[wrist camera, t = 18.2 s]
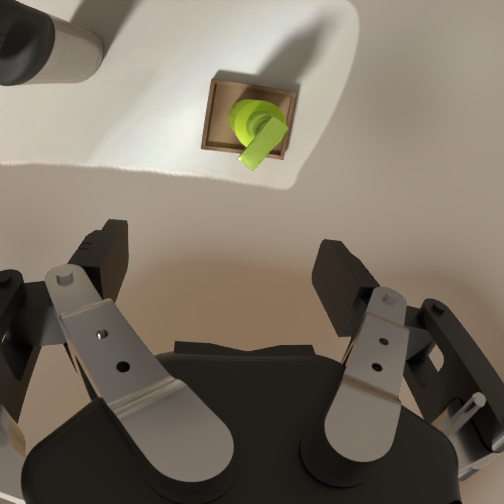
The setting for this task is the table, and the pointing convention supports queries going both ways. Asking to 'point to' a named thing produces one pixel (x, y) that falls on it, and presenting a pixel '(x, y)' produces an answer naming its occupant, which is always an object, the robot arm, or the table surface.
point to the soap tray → (219, 105)
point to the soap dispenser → (256, 129)
